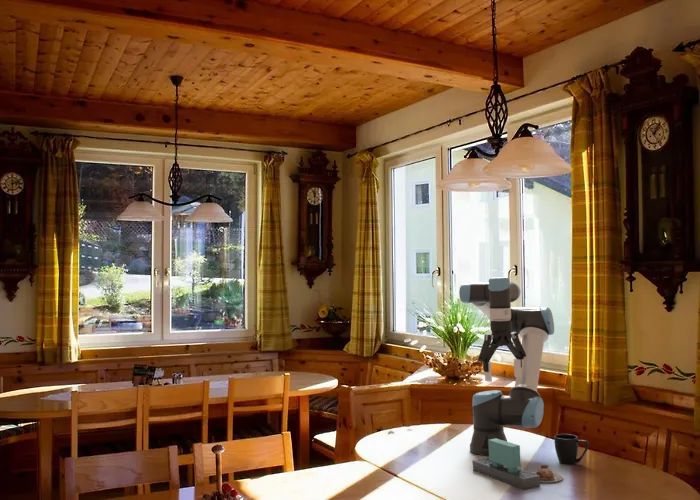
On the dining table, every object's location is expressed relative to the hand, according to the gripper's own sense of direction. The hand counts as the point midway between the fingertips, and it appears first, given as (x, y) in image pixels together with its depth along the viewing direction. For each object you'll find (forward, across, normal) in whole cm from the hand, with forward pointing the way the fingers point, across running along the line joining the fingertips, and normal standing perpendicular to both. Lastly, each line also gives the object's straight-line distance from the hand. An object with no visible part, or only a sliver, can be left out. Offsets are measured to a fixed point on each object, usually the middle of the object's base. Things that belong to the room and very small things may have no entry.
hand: (503, 379), depth 233 cm
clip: (+32, -8, -8) cm, 34 cm away
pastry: (+32, +3, -15) cm, 36 cm away
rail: (+32, -8, -8) cm, 34 cm away
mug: (+32, +23, -8) cm, 40 cm away
